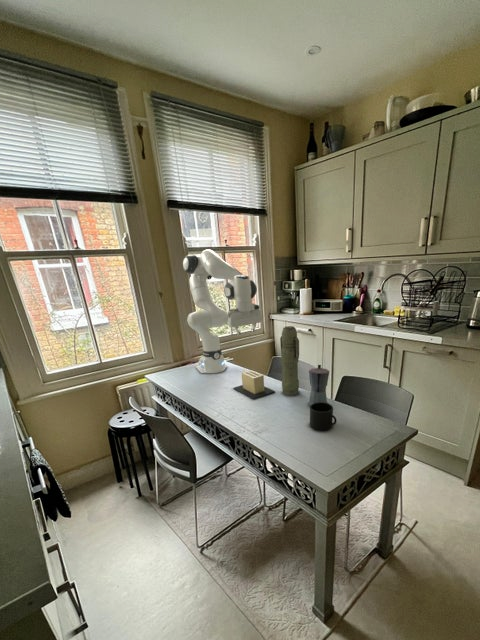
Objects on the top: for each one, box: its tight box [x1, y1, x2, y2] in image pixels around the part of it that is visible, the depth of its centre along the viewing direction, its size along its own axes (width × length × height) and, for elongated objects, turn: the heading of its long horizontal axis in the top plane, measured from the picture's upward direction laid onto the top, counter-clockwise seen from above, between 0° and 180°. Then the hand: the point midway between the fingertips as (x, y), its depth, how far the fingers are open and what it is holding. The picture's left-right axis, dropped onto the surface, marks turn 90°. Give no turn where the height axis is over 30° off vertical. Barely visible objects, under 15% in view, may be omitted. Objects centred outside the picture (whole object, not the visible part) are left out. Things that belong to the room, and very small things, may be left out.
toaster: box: [241, 369, 265, 394], centre depth 173 cm, size 13×6×9 cm, turn 37°
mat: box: [233, 384, 276, 401], centre depth 174 cm, size 20×14×1 cm
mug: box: [309, 402, 338, 432], centre depth 132 cm, size 9×12×9 cm
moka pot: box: [308, 364, 330, 406], centre depth 150 cm, size 10×15×20 cm, turn 174°
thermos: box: [279, 325, 300, 397], centre depth 162 cm, size 9×12×35 cm
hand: (246, 333), depth 175 cm, fingers open, 8 cm apart
